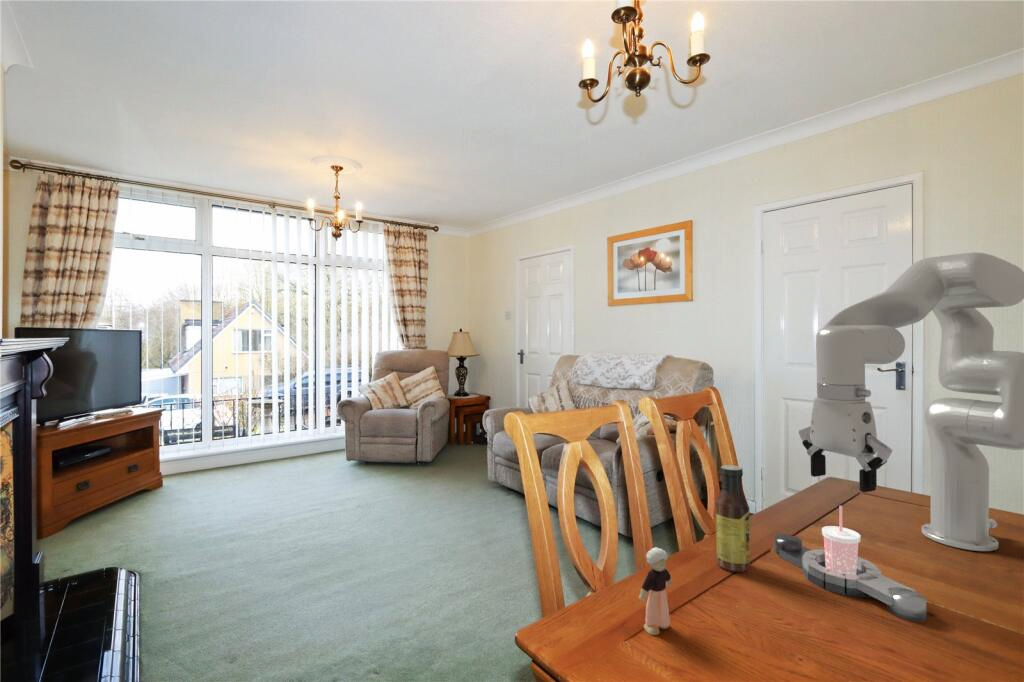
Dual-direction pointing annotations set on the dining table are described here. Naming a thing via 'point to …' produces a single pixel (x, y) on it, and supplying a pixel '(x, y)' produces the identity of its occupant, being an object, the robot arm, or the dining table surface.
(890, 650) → the dining table surface
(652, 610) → the grandmother figurine
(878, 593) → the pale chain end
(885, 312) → the robot arm
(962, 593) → the dining table surface
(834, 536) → the beverage cup
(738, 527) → the sauce bottle
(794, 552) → the dark grey ring piece
